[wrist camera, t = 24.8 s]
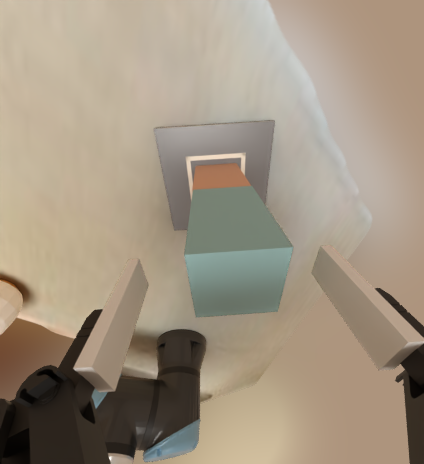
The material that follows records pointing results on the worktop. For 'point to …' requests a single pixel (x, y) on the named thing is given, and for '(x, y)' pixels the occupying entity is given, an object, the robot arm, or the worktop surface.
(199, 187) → the terracotta block
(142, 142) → the worktop surface
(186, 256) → the teal block
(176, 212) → the base plate
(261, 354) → the worktop surface
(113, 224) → the worktop surface
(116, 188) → the worktop surface
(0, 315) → the cup
